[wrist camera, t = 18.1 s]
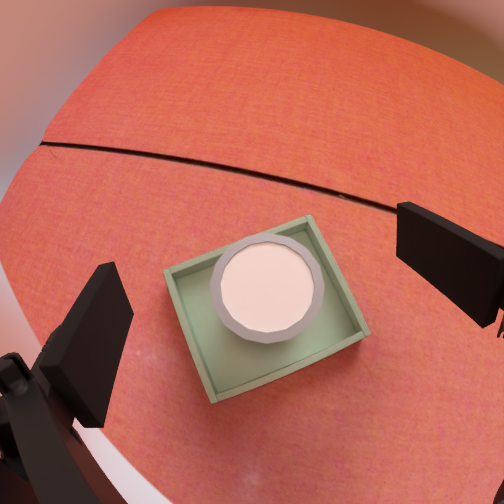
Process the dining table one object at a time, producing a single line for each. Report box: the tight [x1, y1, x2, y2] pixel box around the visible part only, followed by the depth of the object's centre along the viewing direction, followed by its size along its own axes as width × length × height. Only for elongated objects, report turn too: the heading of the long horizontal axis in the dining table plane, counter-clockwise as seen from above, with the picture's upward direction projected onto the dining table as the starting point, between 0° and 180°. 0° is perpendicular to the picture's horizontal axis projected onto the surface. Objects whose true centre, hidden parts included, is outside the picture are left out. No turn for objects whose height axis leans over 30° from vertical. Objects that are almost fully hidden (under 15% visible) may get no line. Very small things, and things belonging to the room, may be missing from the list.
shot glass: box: [210, 233, 325, 344], centre depth 21 cm, size 7×7×7 cm
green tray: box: [163, 214, 371, 404], centre depth 24 cm, size 13×11×2 cm
